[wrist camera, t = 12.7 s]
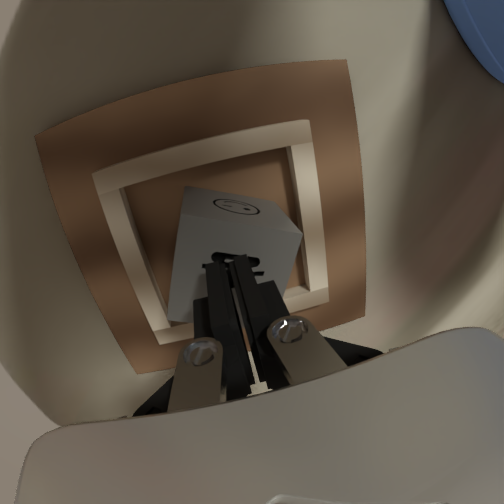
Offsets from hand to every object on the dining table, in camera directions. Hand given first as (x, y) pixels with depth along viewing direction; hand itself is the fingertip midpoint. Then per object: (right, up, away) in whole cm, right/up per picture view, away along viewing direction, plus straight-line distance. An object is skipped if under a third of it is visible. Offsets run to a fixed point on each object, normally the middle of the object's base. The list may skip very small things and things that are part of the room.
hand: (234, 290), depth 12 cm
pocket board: (-1, +3, +6) cm, 7 cm away
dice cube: (-1, +3, +5) cm, 6 cm away
